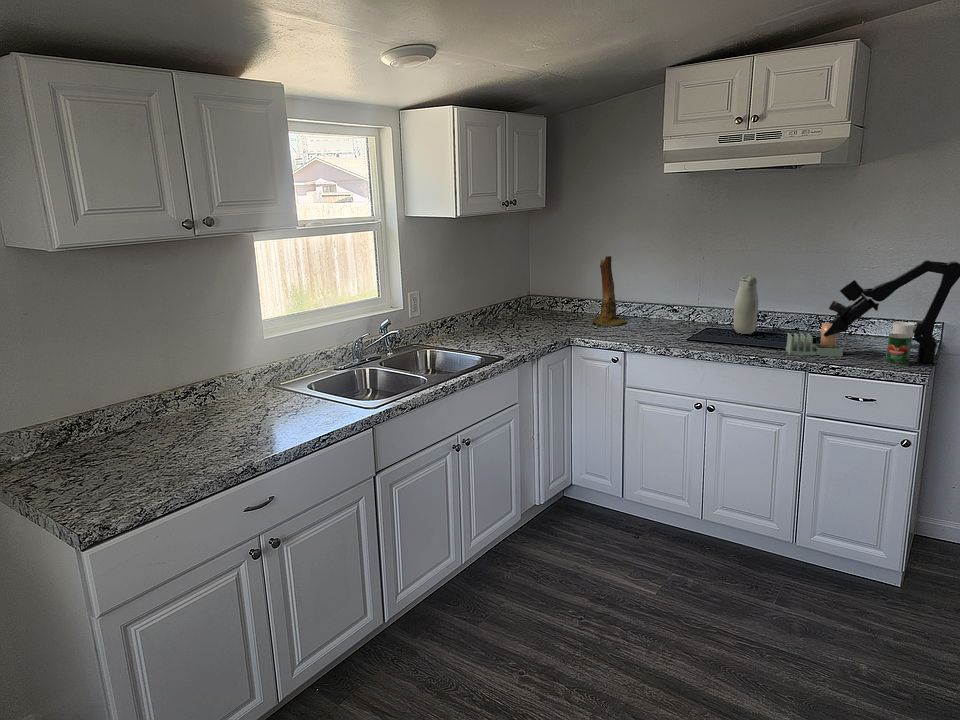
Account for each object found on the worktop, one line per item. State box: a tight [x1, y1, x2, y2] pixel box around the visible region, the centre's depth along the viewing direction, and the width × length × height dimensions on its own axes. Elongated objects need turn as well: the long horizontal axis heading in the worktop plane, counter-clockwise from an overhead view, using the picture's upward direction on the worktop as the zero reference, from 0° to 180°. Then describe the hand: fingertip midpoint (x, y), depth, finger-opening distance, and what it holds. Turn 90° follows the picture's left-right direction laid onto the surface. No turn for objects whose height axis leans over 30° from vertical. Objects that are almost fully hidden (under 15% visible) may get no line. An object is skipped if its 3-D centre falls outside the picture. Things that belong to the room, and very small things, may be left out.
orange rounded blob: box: [819, 322, 837, 349], centre depth 284 cm, size 6×6×11 cm
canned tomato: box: [885, 333, 913, 367], centre depth 266 cm, size 8×8×11 cm
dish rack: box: [785, 332, 844, 357], centre depth 286 cm, size 10×20×8 cm, turn 76°
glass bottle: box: [733, 274, 759, 335], centre depth 324 cm, size 10×10×28 cm
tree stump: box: [592, 255, 628, 327], centre depth 359 cm, size 20×16×35 cm
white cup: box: [892, 321, 916, 339], centre depth 293 cm, size 8×8×10 cm
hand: (824, 334), depth 284 cm, fingers closed on orange rounded blob, 5 cm apart
